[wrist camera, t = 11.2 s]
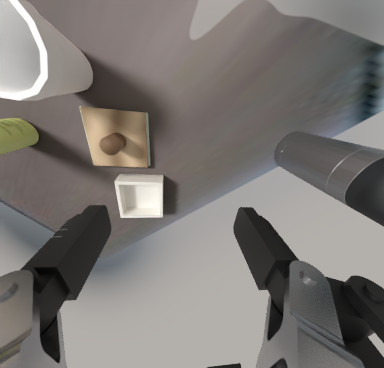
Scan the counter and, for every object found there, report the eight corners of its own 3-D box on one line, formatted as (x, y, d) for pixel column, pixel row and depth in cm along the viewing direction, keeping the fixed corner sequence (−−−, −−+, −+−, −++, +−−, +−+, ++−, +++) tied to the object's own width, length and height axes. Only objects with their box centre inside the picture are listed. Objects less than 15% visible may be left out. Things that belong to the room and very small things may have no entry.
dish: (163, 175, 35) (162, 182, 32) (163, 207, 40) (162, 217, 37) (120, 173, 34) (114, 181, 30) (125, 207, 39) (120, 217, 35)
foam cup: (99, 110, 27) (48, 115, 16) (40, 87, 25) (-71, 74, 13) (106, 49, 23) (45, 0, 12) (36, 14, 21) (-124, -90, 10)
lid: (145, 112, 28) (140, 114, 23) (148, 165, 33) (144, 176, 28) (82, 106, 26) (63, 107, 22) (96, 163, 31) (82, 174, 27)
